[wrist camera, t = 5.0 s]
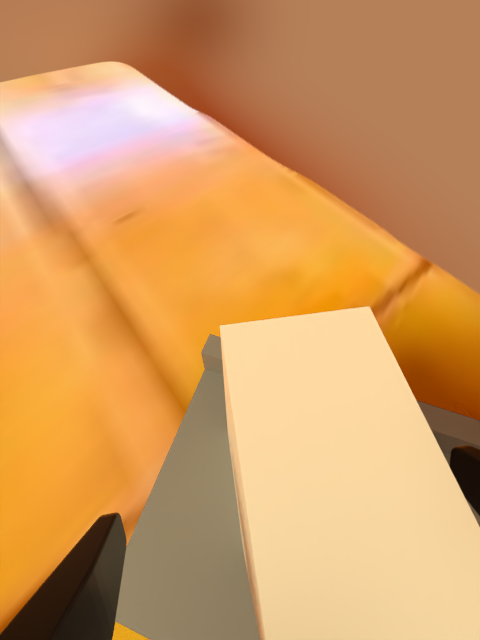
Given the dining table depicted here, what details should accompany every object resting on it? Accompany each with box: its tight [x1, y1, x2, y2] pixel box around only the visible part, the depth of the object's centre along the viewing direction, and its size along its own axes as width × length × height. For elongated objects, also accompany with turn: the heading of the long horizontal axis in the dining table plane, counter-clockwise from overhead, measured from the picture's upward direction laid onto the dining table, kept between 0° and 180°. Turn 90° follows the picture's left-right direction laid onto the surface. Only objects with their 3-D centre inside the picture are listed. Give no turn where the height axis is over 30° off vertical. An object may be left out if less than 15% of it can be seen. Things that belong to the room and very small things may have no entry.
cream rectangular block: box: [220, 306, 480, 640], centre depth 9 cm, size 5×3×11 cm, turn 9°
